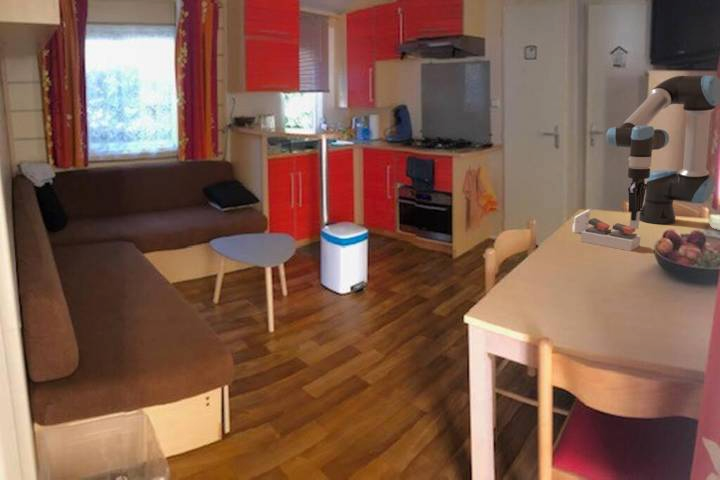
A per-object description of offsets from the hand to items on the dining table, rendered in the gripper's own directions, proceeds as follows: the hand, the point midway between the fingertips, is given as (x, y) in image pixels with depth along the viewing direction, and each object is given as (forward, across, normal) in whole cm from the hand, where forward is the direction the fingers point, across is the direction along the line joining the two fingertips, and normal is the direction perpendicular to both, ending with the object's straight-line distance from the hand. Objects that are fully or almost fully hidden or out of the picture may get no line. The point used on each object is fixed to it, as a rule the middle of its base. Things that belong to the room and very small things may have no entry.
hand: (633, 228), depth 234 cm
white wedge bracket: (+8, -10, -26) cm, 29 cm away
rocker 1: (+2, 0, -14) cm, 14 cm away
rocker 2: (+2, 0, -4) cm, 5 cm away
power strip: (+8, 0, -9) cm, 12 cm away
